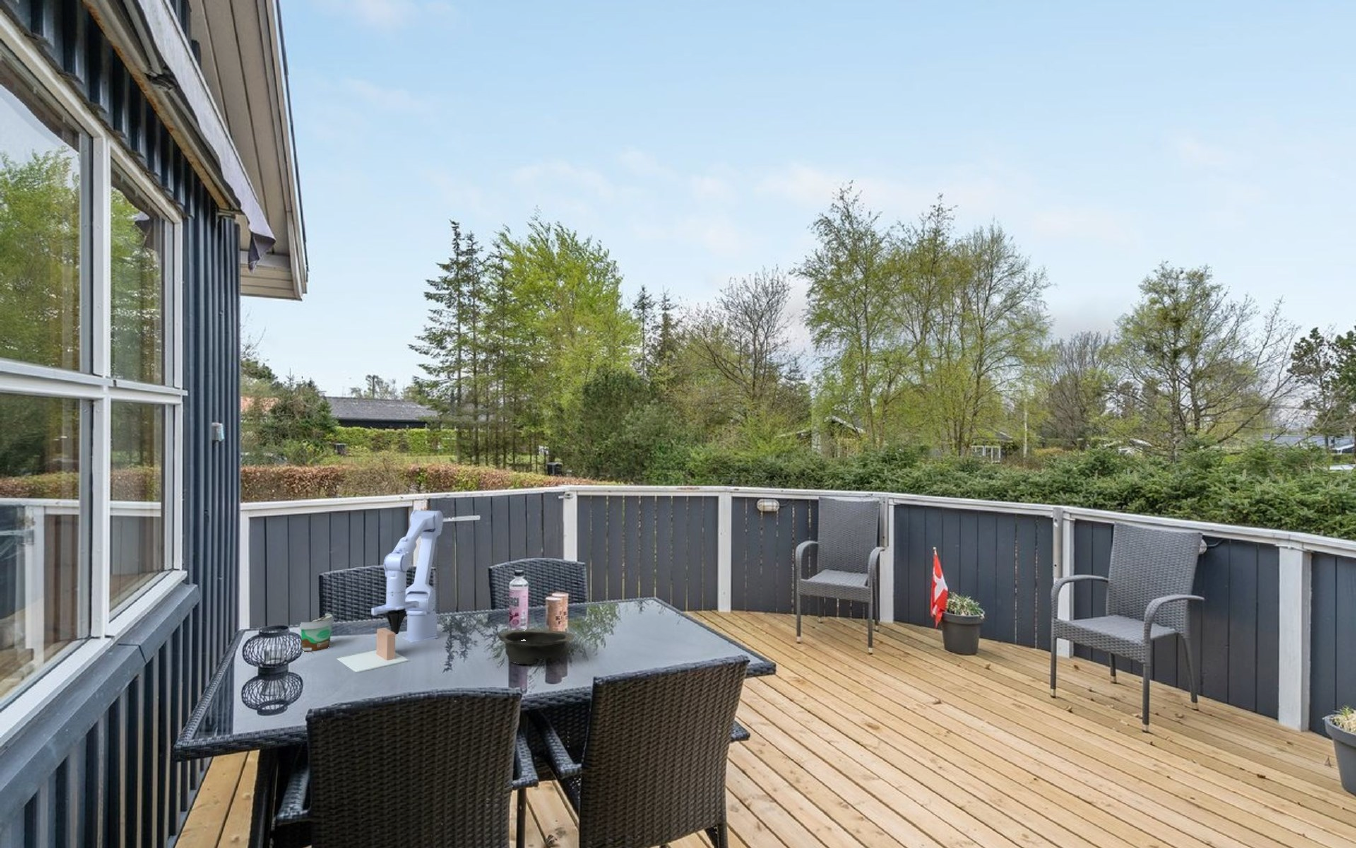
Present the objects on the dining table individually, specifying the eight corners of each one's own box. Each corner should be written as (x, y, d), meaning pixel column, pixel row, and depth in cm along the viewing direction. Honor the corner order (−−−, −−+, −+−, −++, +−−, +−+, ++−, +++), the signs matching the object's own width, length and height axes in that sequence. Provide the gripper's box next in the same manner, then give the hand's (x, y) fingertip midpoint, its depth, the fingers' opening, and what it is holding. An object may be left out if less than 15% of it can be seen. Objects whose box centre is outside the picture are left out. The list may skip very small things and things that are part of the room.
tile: (384, 652, 221) (385, 627, 222) (395, 658, 216) (395, 633, 216) (376, 654, 220) (377, 629, 220) (386, 660, 214) (387, 634, 214)
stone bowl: (504, 674, 205) (503, 642, 206) (491, 654, 228) (491, 626, 229) (584, 663, 215) (584, 633, 216) (564, 645, 238) (564, 618, 239)
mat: (386, 648, 227) (386, 646, 227) (410, 662, 214) (410, 660, 214) (335, 659, 216) (335, 657, 216) (356, 674, 203) (357, 672, 203)
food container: (315, 656, 218) (316, 624, 218) (298, 654, 219) (299, 622, 219) (342, 644, 230) (342, 614, 230) (325, 642, 231) (326, 612, 231)
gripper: (378, 596, 212) (377, 641, 212) (423, 589, 222) (422, 632, 222) (369, 592, 217) (368, 636, 217) (414, 586, 227) (413, 627, 227)
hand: (395, 633), depth 220 cm, fingers closed
